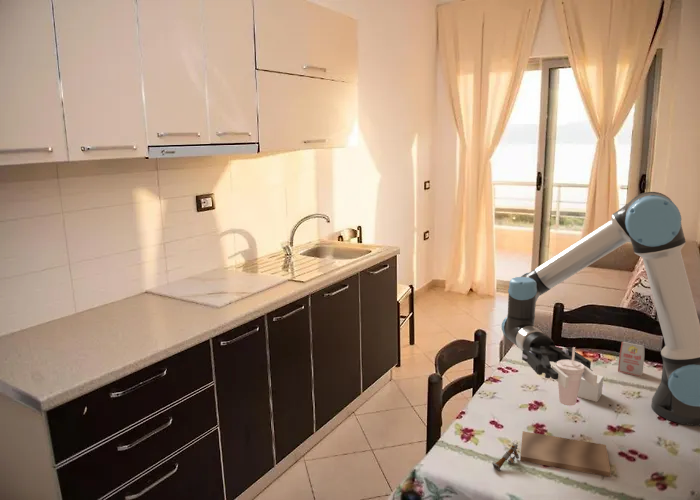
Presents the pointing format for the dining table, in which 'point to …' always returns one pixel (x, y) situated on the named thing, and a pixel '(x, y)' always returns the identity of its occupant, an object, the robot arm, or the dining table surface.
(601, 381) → the off-white cube
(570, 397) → the smoothie
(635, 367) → the small printed carton
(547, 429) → the dining table surface
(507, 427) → the dining table surface
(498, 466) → the wooden post with brackets
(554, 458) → the walnut board
